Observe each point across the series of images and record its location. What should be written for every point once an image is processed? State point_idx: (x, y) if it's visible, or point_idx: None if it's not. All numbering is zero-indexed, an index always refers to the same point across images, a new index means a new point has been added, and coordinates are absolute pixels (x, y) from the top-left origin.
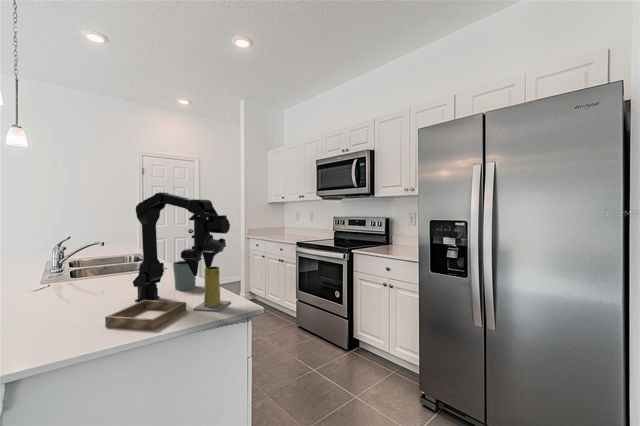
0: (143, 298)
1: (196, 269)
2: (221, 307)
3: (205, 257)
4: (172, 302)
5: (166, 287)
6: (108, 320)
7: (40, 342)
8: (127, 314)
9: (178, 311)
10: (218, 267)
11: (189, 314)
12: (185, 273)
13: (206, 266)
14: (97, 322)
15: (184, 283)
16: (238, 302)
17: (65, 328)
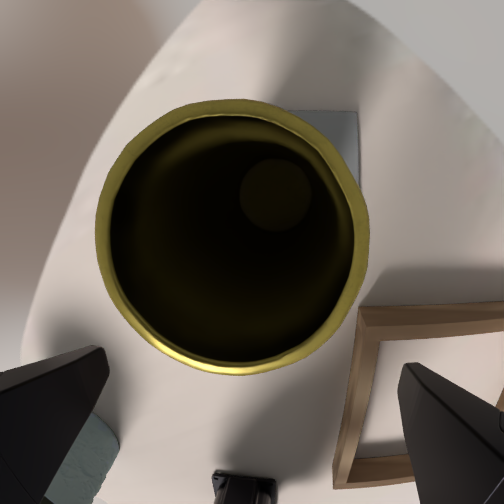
0: (270, 500)
1: (481, 399)
2: (309, 114)
3: (24, 487)
4: (370, 388)
5: (115, 478)
6: None
7: None
8: None
9: (423, 312)
10: (152, 135)
11: (410, 255)
12: (72, 472)
13: (90, 402)
14: None
15: (96, 445)
16: (182, 79)
17: None
